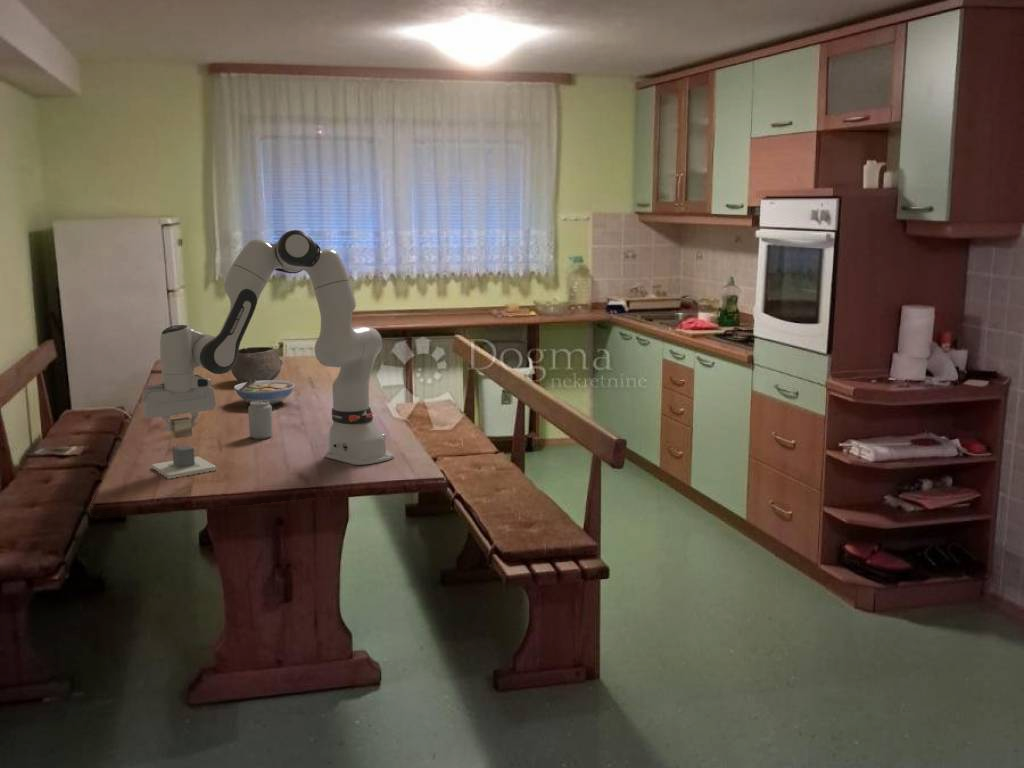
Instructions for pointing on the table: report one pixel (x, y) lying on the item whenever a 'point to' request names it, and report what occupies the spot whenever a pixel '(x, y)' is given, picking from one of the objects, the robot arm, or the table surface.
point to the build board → (183, 468)
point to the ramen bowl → (264, 390)
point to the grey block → (183, 456)
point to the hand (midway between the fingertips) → (181, 428)
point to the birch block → (181, 427)
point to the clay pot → (257, 364)
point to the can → (260, 419)
